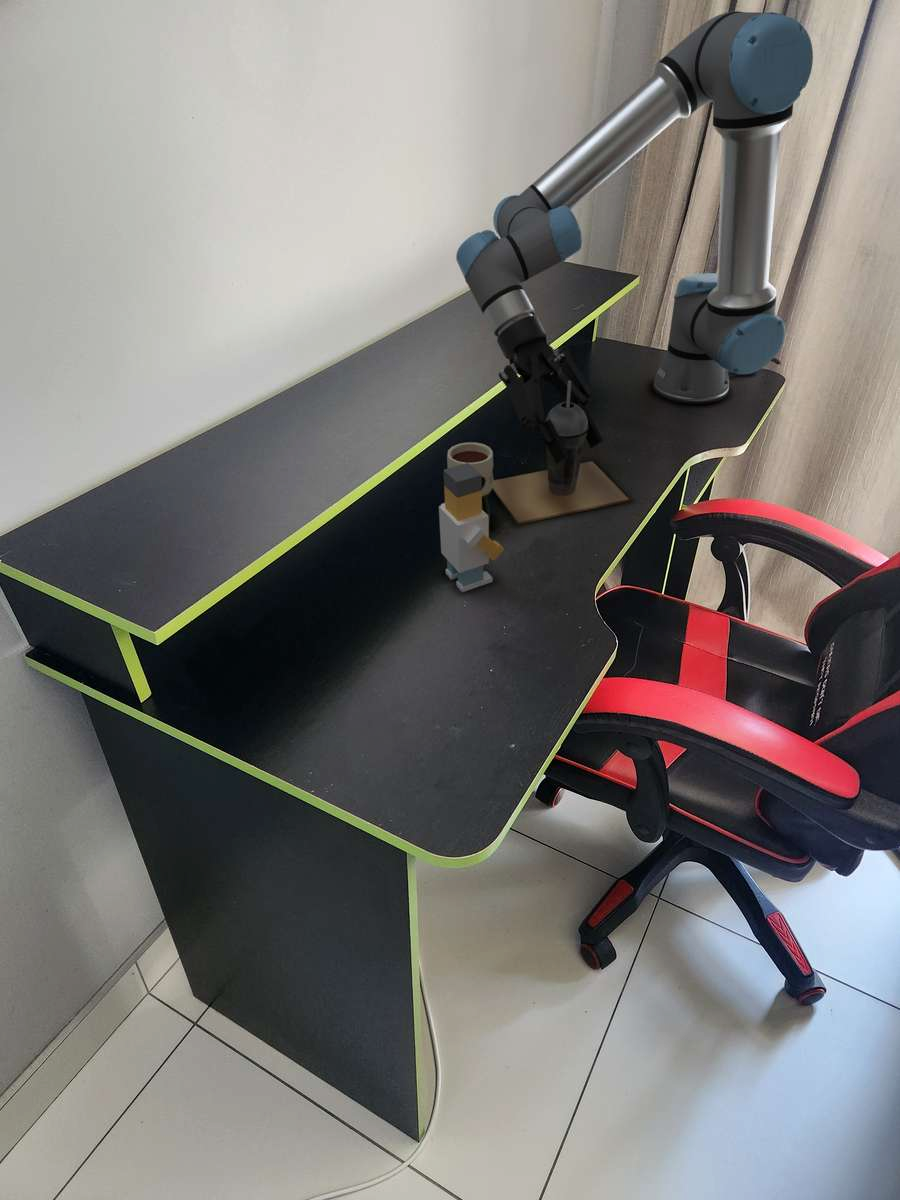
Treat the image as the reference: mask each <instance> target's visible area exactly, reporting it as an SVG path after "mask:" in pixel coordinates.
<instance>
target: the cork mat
mask: <svg viewBox="0 0 900 1200" xmlns="http://www.w3.org/2000/svg"><path fill="white" fill-rule="evenodd" d="M493 481H494V482H493V487H492V489H491V490H492V491H493V492H494V493H495V495H496V496H497V498H498V499H499V500H500V502H501V503H502V505H503V506H504V507H505V508H506V510H507V511H508V513H509V514H510V516H511V518H513V520H514V521H515V522H516V524H517V526H518V525H523V524H529V523H533V522H538V521H543V520H547V519H552V518H556V517H562V516H566V515H571V514H576V513H580V512H585V511H590V510H595V509H599V508H604V507H609V506H613V505H618V504H624V503H627V502H629V500H630V499H629V497H628V496H626V494H625V493H624V492H623V491H622V490H620V488H618V486H617V485H616V484H615V482H613V481H612V479H610V478H609V477H608V476H607V475H606V474H605V473H604V472H603V471H602V470H601V469H600V468H599V467H598V466H597V465H596V463H595V462H593V461H592V460H591V461H585V462H580V467H579V473H578V478H577V483H576V487H575V491H574V492H573V493H572V494H570V495H564V496H561V495H556V494H553V493H551V492H550V491H549V482H548V469H544V470H540V471H535V472H530V473H525V474H520V475H514V476H510V477H505V478H499V479H493Z"/></svg>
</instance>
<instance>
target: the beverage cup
mask: <svg viewBox="0 0 900 1200" xmlns="http://www.w3.org/2000/svg"><path fill="white" fill-rule="evenodd" d="M570 392H571V381H568V388H567V400H566V401H563V402H561V403H558V404H556V405H555V406H553V407H552V408H551V409H550V410H549V412H547V413H548V414H547V415H546V417H545V421H544V422H546V421H548V420H551V422H552V424H553V426H554V428H555V430H556V432H557V434H558V436H559V438H560V440H561V442H562V443H563V445H564V447H565V449H566V451H567V453H568V455H569V456H568V457H567V458H565V459H564V460H562V461H561V462H559V463H557V464H556V462H555V460H554V458H553V456H552V454H551V452H550V450H549V448H548V446H547V445H546V463H547V470H548V482H549V491H550V492H551V493H553V494H556V495H561V496H564V495H570V494H572V493H573V492H574V491H575V487H576V483H577V478H578V473H579V467H580V463H582V462H581V461H582V455H583V451H584V450H583V449H584V444H585V442H586V435H587V432H588V429H589V427H588V420H587V417H586V414H585V412H584V411H583V409H582V408H580V407H579V406H578V405H576V404H574V403H571V402H570Z"/></svg>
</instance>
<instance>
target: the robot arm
mask: <svg viewBox="0 0 900 1200" xmlns="http://www.w3.org/2000/svg"><path fill="white" fill-rule="evenodd" d="M813 61H814V49H813V44H812V40H811V38H810V35H809V33H808V30H807V29H806V28H805V27H804V26H803V25H802V23H801V22H799V21H798V20H796V19H795V18H793V17H791V16H787V15H785V14H782V13H778V12H774V11H770V12H760V11H759V12H756V11H755V12H754V11H753V12H752V11H751V12H750V11H749V12H747V11H746V12H745V11H740V10H739V11H736V10H734V11H727V12H724V13H721V14H718V15H716V16H713V17H712V18H710V19H708V20H707V21H705V22H704V23H702V24H701V25H700V26H698V27H697V28H696V29H695V30H693V31H692V32H691V33H690V34H688V35H687V36H686V37H685V38H684V39H683V40H681V41H680V42H679V43H678V44H677V45H675V46H674V47H673V48H672V49H671V50H669V52H668V53H666V55H664V56H663V57H662V58H661V59H660V60H659V61H658V62H657V63H656V64H655V65H654V66H653V69H652V70H653V71H652V76H651V77H649V79H647V80H646V81H645V82H644V83H643V84H642V85H641V86H640V87H639V88H638V89H636V91H634V92H633V93H632V94H631V95H630V96H628V98H627V99H625V100H624V101H623V102H622V103H621V104H620V105H619V106H617V107H616V108H615V109H614V110H613V111H612V112H611V113H609V115H607V116H606V117H605V118H604V119H603V120H602V121H601V122H600V123H599V124H597V125H596V126H595V127H594V128H593V129H592V130H591V131H589V132H588V133H587V134H586V135H585V136H584V137H583V138H582V139H581V140H579V142H577V143H576V144H575V145H574V146H573V147H571V148H570V150H569V151H567V152H565V154H564V155H562V157H560V159H558V160H557V161H556V162H554V164H553V165H552V166H550V167H549V168H548V169H547V170H546V171H545V172H544V173H543V174H542V175H540V176H539V177H538V178H537V179H536V180H534V182H533V183H532V184H531V185H529V186H528V187H527V188H526V189H524V191H522V192H521V193H520V194H518V195H517V194H515V195H509V196H506V197H504V198H502V200H501V201H500V202H498V204H497V206H496V207H495V209H494V213H493V217H492V219H493V221H492V222H493V227H494V231H495V232H496V233H495V232H494V231H492V230H490V229H484V230H482V231H481V232H479V231H478V232H476V233H474V234H472V235H471V236H469V237H468V238H466V239H465V240H464V241H463V242H462V243H461V244H460V246H459V247H458V249H457V251H456V255H455V259H456V260H455V261H456V262H457V265H458V267H459V269H460V271H461V273H462V276H463V278H464V281H465V283H466V284H467V286H468V288H469V290H470V292H471V293H472V295H473V298H474V300H475V301H476V303H477V306H478V308H479V309H480V311H481V312H482V315H483V317H484V319H485V321H486V323H487V324H488V326H489V329H490V331H491V332H492V334H493V336H495V337H497V340H496V342H497V344H498V346H499V348H500V350H501V352H502V354H503V356H504V357H505V359H507V360H508V361H509V364H507V365H505V367H504V368H503V369H501V370H500V372H499V373H498V377H499V379H500V380H501V382H502V383H503V384H504V385H505V387H506V390H507V393H508V395H509V399H510V400H511V403H512V406H513V408H514V411H515V413H516V416H517V418H518V422H519V424H520V426H521V427H522V428H523V429H527V428H529V430H530V431H534V430H535V431H536V433H537V435H538V437H539V439H540V441H541V443H542V444H543V446H546V447H547V446H548V448H549V450H550V452H551V454H552V456H553V458H554V460H555V462H556V464H557V463H559V462H561V461H562V460H564V459H565V458H567V457H568V456H569V455H568V453H567V451H566V449H565V447H564V445H563V443H562V442H561V440H560V438H559V436H558V434H557V432H556V430H555V428H554V426H553V424H552V422H551V420H548V421H546V416H545V410H544V405H543V399H542V393H541V386H540V381H541V380H544V381H545V382H546V383H549V384H551V385H552V387H553V388H555V390H556V391H557V392H558V393H559V394H560V395H561V396H562V397H563V398H564V399H565V400H566V401H567V388H568V381H571V392H570V402H571V403H574V404H576V405H578V406H579V407H580V408H582V409H583V411H584V412H585V414H586V417H587V420H588V427H589V429H588V432H587V435H586V438H585V441H586V443H587V444H588V446H589V447H590V449H593V448H595V447H597V446H598V445H600V444H601V443H603V442H604V439H603V437H602V435H601V433H600V432H599V429H598V427H597V425H596V423H597V421H596V420H597V419H596V418H595V415H594V414H593V412H592V410H591V408H590V406H589V403H591V402H592V399H594V397H595V393H594V392H593V390H592V388H591V387H590V385H589V384H588V382H587V380H586V379H585V377H584V376H583V374H582V373H581V371H580V369H579V368H578V366H577V365H576V363H575V362H574V360H573V359H572V357H571V353H570V350H569V347H568V346H567V345H562V346H561V347H560V348H553V347H552V346H551V345H550V344H549V343H548V341H547V332H546V330H545V328H544V326H543V324H542V322H541V320H540V319H539V317H538V316H536V315H535V313H536V311H535V309H534V306H533V305H532V303H531V301H530V298H529V297H528V295H527V293H526V292H525V289H524V287H523V285H522V283H524V282H526V281H528V280H529V279H532V278H533V277H535V276H537V275H539V274H541V273H542V272H545V271H547V270H549V269H550V268H552V267H554V266H556V265H558V264H560V263H562V262H565V261H566V260H567V259H568V258H570V257H571V256H574V255H575V254H577V253H578V252H580V250H581V249H582V247H583V241H584V240H583V234H582V230H581V227H580V224H579V222H578V220H577V217H576V216H575V214H574V212H573V208H575V207H576V206H577V205H579V204H580V203H581V202H582V201H583V200H584V199H585V198H586V197H587V196H589V195H590V194H591V193H592V192H593V191H594V190H596V189H597V188H598V187H599V186H600V185H602V184H603V183H604V182H605V181H606V180H607V179H608V178H609V177H611V176H612V175H613V174H614V173H616V171H618V170H619V169H620V168H621V167H622V166H624V165H625V164H626V163H627V162H628V161H629V160H631V158H633V157H634V156H635V155H637V154H638V153H639V152H640V151H641V150H642V149H643V148H644V147H645V146H647V145H648V144H649V143H650V142H652V140H654V138H656V137H657V136H658V135H660V134H661V133H662V131H664V130H665V129H666V128H667V127H669V126H670V125H671V124H672V123H674V121H676V120H677V119H688V118H689V117H690V116H691V115H692V114H693V113H695V111H697V110H698V109H700V108H701V107H703V106H705V105H707V104H709V103H712V104H713V105H712V106H713V107H712V128H713V129H714V130H715V131H716V132H717V133H718V134H719V135H720V136H721V138H722V139H721V161H720V162H721V163H720V189H719V190H720V191H719V214H718V215H719V216H718V219H719V220H718V244H717V245H718V247H717V271H716V272H715V273H713V272H712V273H710V272H709V273H707V272H706V273H696V274H691V275H687V276H684V277H682V278H680V280H679V281H678V283H677V285H676V289H675V292H674V296H673V299H674V300H673V306H672V315H671V320H670V321H671V322H670V329H669V335H668V343H667V351H666V353H665V355H664V357H663V359H662V361H661V363H660V366H659V368H658V370H657V372H656V374H655V376H654V379H653V385H652V386H653V387H652V389H653V391H654V392H655V393H656V394H657V395H658V396H659V397H661V398H663V399H665V400H667V401H671V402H674V403H678V404H683V405H684V404H685V405H707V404H713V403H717V402H719V401H722V400H723V399H725V398H726V397H727V395H728V394H729V390H730V389H729V388H730V378H729V376H734V375H735V376H736V375H737V376H738V375H743V376H744V375H746V376H747V375H755V374H756V372H758V371H760V370H762V369H764V368H765V367H766V366H768V365H769V364H770V363H771V362H772V363H774V364H776V365H782V363H781V361H780V360H779V359H778V358H777V356H778V354H779V353H780V351H781V350H782V348H783V346H784V342H785V341H786V340H785V339H786V335H787V334H786V333H787V330H786V325H785V323H784V322H783V320H782V318H781V316H779V315H777V314H776V307H777V306H776V305H777V304H776V303H777V295H778V294H777V289H776V288H775V287H774V286H773V285H772V284H771V283H770V281H769V280H770V279H769V278H770V277H769V276H770V267H771V253H772V242H773V227H774V215H775V203H776V191H777V179H778V166H779V156H780V155H779V154H780V142H781V140H780V139H781V130H782V128H783V126H785V125H786V124H787V123H788V122H789V121H790V120H791V118H792V117H793V111H794V103H795V102H796V101H797V100H798V99H799V98H800V96H801V92H802V90H803V89H805V88H806V86H807V84H808V82H809V80H810V76H811V73H812V69H813ZM496 234H497V235H498V236H497V235H496ZM519 376H520V377H519ZM545 421H546V422H545Z"/></svg>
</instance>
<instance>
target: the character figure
mask: <svg viewBox="0 0 900 1200" xmlns="http://www.w3.org/2000/svg"><path fill="white" fill-rule="evenodd" d="M443 488H444V489H443V491H444V502H443V503H441V504H440V505H439V506H438V516H439V517H438V518H439V535H440V553H441V554H442V556H443V557H444V558H445V559H446V567H447V568H445V574H446V576H448V578H449V579H450V580H451V581H452V580H456V579H457V580H456V581H455V583H456V587H457V588H458V590H459V591H461V593H465V592H467V591H470V590H473V589H475V588H476V589H477V588H478V587H481V586H484V585H487V584H490V583H493V580H494V579H493V576H492V575H491V574H490V573H489V572H488V571H487V570H485V571H484V566H485V565H487V564H489V563H490V560H491V561H493V562H495V561H496V560H497V558H499V556H500V555H501V554H502V553H503V552H504V551H505V547H504V546H503V545H501V543H499V542H498V541H496V539H494V540H492V539H491V538H490V531H489V530H490V527H489V526H490V524H489V516H488V515H487V514H486V513H485V512H484V511H483V510H482V475H481V474H480V473H479V472H478V471H477V470H475V469H474V468H473V467H472V466H471V465H470V464H469V463H466V464H463V465H459V466H456V467H452V468H449V469H448V468H445V469H443Z"/></svg>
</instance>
